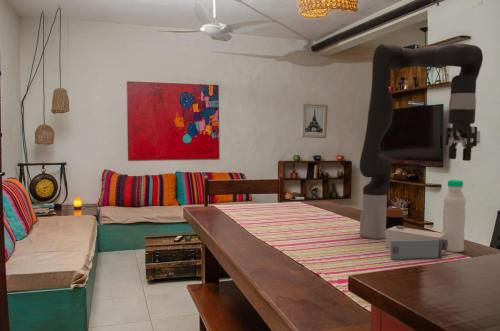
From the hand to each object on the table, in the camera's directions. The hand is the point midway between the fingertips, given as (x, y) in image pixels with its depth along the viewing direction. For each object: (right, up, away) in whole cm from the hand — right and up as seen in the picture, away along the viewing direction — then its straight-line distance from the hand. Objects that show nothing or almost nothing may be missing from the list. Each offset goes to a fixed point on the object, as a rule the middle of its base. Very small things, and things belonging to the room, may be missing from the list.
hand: (459, 159), depth 129 cm
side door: (-12, -32, +3) cm, 35 cm away
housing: (-8, -32, +14) cm, 36 cm away
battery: (-3, -30, +50) cm, 58 cm away
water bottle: (+5, -32, +15) cm, 36 cm away
